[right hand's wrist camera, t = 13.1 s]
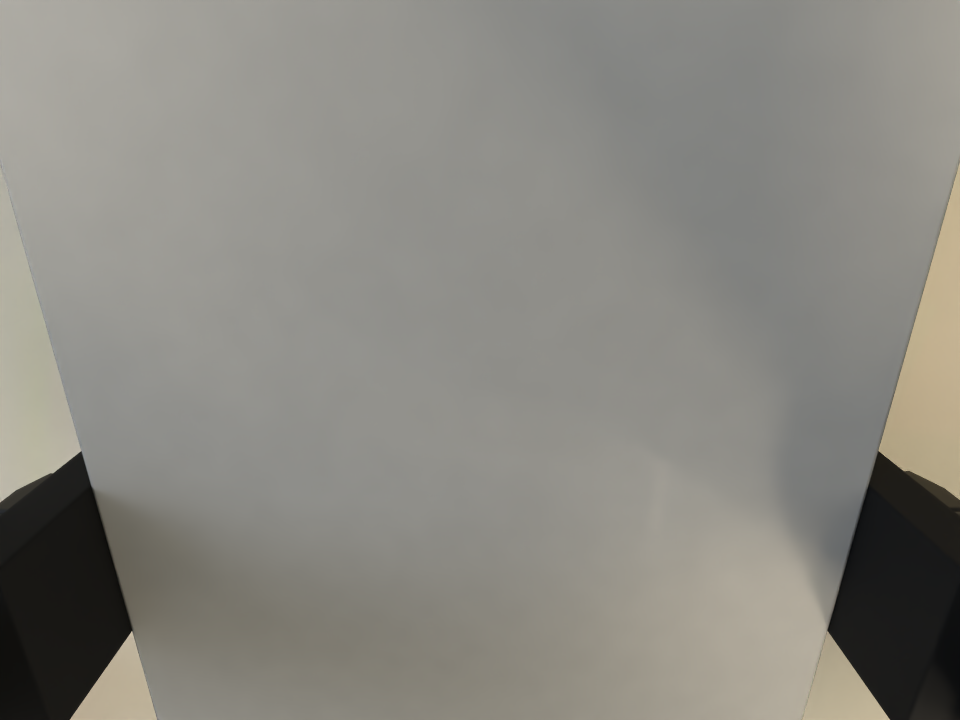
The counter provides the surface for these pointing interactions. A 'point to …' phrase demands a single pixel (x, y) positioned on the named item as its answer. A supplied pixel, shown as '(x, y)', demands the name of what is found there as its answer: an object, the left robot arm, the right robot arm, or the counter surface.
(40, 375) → the counter surface
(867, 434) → the cabinet
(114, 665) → the counter surface
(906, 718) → the right robot arm
